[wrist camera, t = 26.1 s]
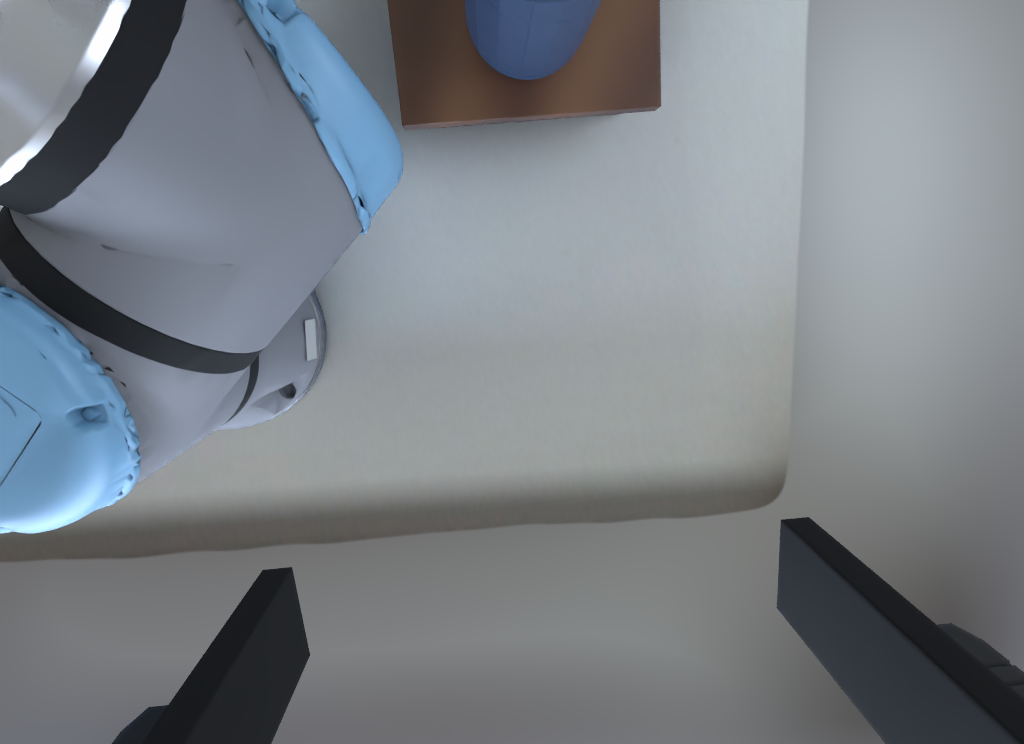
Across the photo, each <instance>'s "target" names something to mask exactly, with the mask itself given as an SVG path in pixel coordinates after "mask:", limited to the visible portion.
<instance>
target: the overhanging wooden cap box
mask: <svg viewBox="0 0 1024 744" xmlns="http://www.w3.org/2000/svg"><path fill="white" fill-rule="evenodd" d="M387 1H388V9H389V17H390V26H391V34H392V42H393V51H394V59H395V67H396V75H397V84H398V92H399V100H400V109H401V117H402V125H403V127H404V128H405V130H412V129H425V128H440V127H453V126H466V125H479V124H492V123H505V122H518V121H531V120H544V119H557V118H570V117H583V116H596V115H609V114H622V113H632V112H645V111H655V110H657V109H658V108H659V107H660V106H661V69H660V0H601V2H600V4H599V7H598V9H597V11H596V13H595V15H594V18H593V20H592V22H591V24H590V26H589V28H588V31H587V33H586V35H585V37H584V39H583V42H582V43H581V45H580V46H579V47H578V49H577V51H576V52H575V54H574V55H573V57H572V58H571V59H570V60H569V61H568V62H567V64H565V65H564V66H563V67H562V68H561V69H559V70H558V71H556V72H555V73H553V74H551V75H549V76H547V77H543V78H540V79H534V80H521V79H515V78H511V77H508V76H506V75H504V74H501V73H500V72H498V71H497V70H495V69H494V68H492V67H491V66H490V65H489V64H488V63H487V62H486V61H485V60H484V59H483V58H482V57H481V55H480V54H479V52H478V51H477V49H476V47H475V46H474V44H473V41H472V39H471V36H470V33H469V30H468V27H467V21H466V10H465V0H387Z"/></svg>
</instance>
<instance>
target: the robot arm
mask: <svg viewBox="0 0 1024 744" xmlns="http://www.w3.org/2000/svg"><path fill="white" fill-rule="evenodd" d="M402 171H403V153H402V150H401V144H400V141H399V139H398V137H397V135H396V133H395V131H394V129H393V127H392V125H391V124H390V122H389V120H388V119H387V117H386V116H385V114H384V113H383V111H382V110H381V108H380V107H379V105H378V104H377V102H376V101H375V99H374V98H373V97H372V95H371V94H370V92H369V91H368V90H367V88H366V87H365V86H364V84H363V83H362V82H361V80H360V79H359V78H358V76H357V75H356V74H355V72H354V71H353V70H352V68H351V67H350V66H349V65H348V63H347V62H346V61H345V59H344V58H343V57H342V56H341V54H340V53H339V52H338V51H337V49H336V48H335V47H334V46H333V44H332V43H331V42H330V41H329V39H328V38H327V37H326V36H325V35H324V33H323V32H322V31H321V30H320V29H319V27H318V26H317V25H316V24H315V23H314V22H313V20H312V19H311V18H310V17H309V16H308V15H307V14H306V13H304V12H303V11H302V10H300V9H299V8H297V6H296V3H295V1H294V0H0V205H2V206H4V207H3V208H2V210H1V211H0V533H8V532H11V531H15V532H21V533H30V534H31V533H38V532H44V531H49V530H53V529H56V528H60V527H63V526H65V525H68V524H70V523H72V522H75V521H77V520H79V519H81V518H82V517H84V516H86V515H87V514H89V513H91V512H93V511H94V510H96V509H98V508H103V507H104V506H109V505H112V504H114V503H116V502H117V501H118V500H119V499H121V498H123V497H124V496H126V495H127V494H128V493H129V492H130V491H131V489H132V488H133V487H134V485H136V484H137V483H139V482H140V481H142V480H143V479H145V478H146V477H148V476H149V475H151V474H152V473H154V472H155V471H157V470H158V469H159V468H161V467H162V466H164V465H165V464H167V463H168V462H170V461H171V460H173V459H174V458H176V457H177V456H179V455H180V454H182V453H183V452H185V451H186V450H187V449H189V448H190V447H192V446H193V445H195V444H196V443H198V442H199V441H201V440H202V439H204V438H205V437H207V436H208V435H210V434H211V433H212V432H214V431H215V430H218V429H232V428H242V427H248V426H252V425H256V424H259V423H262V422H264V421H267V420H270V419H272V418H274V417H276V416H278V415H280V414H281V413H283V412H285V411H286V410H287V409H289V408H290V407H291V406H293V405H294V404H295V403H296V402H297V401H299V400H300V399H301V398H302V397H303V396H304V395H305V394H306V393H307V391H308V390H309V389H310V388H311V386H312V385H313V383H314V382H315V380H316V378H317V376H318V374H319V372H320V369H321V367H322V364H323V360H324V356H325V351H326V327H325V321H324V316H323V313H322V310H321V306H320V304H319V302H318V299H317V297H316V295H315V293H314V291H313V289H314V288H315V287H316V286H317V284H318V283H319V282H320V281H321V279H322V278H323V277H324V276H325V275H326V273H327V272H328V271H329V270H330V268H331V267H332V266H333V265H334V264H335V262H336V261H337V260H338V259H339V257H340V256H341V255H342V254H343V253H344V251H345V250H346V249H347V248H348V247H349V245H350V244H351V243H352V242H353V240H354V239H355V238H356V237H357V236H358V234H359V233H360V234H361V235H363V234H365V233H366V232H367V231H368V229H369V227H370V223H371V219H372V217H373V216H374V215H375V213H376V212H377V211H378V209H379V208H380V207H381V205H382V204H383V202H384V201H385V200H386V198H387V197H388V196H389V194H390V193H391V192H392V190H393V189H394V188H395V186H396V185H397V183H398V182H399V180H400V177H401V175H402ZM777 609H778V610H779V611H780V612H781V613H782V615H783V616H784V617H785V619H786V620H787V621H788V622H789V624H790V625H791V626H792V627H793V629H794V630H795V631H796V632H797V634H798V635H799V636H800V637H801V639H802V640H803V641H804V642H805V644H806V645H807V646H808V647H809V648H810V650H811V651H812V652H813V654H814V655H815V656H816V657H817V658H818V660H819V661H820V662H821V664H822V665H823V666H824V667H825V669H826V670H827V671H828V672H829V673H830V675H831V676H832V677H833V679H834V680H835V681H836V682H837V683H838V685H839V686H840V687H841V689H842V690H843V691H844V692H845V693H846V695H847V696H848V697H849V699H850V700H851V701H852V702H853V704H854V705H855V706H856V707H857V709H858V710H859V711H860V712H861V714H862V715H863V716H864V717H865V719H866V720H867V721H868V722H869V724H870V725H871V726H872V727H873V729H874V730H875V731H876V732H877V734H878V735H879V736H880V737H881V739H882V740H883V741H884V742H885V744H1024V672H1023V671H1021V670H1020V669H1019V668H1017V667H1016V666H1015V665H1014V666H1012V665H1011V664H1010V661H1009V660H1007V659H1006V658H1005V657H1004V656H1002V655H1001V654H1000V653H998V652H997V651H996V650H995V649H994V648H992V647H991V646H990V645H989V644H987V643H986V642H985V641H983V640H982V639H980V638H978V637H976V636H974V635H972V634H971V633H969V632H967V631H965V630H963V629H961V628H959V627H957V626H955V625H953V624H952V623H949V624H939V625H936V624H935V623H934V622H933V621H931V620H930V619H929V618H928V617H927V616H925V615H924V614H923V613H922V612H921V611H919V610H918V609H917V608H916V607H915V606H914V605H912V604H911V603H910V602H909V601H908V600H906V599H905V598H904V597H903V596H902V595H900V594H899V593H898V592H897V591H896V590H895V589H893V588H892V587H891V586H890V585H889V584H887V583H886V582H885V581H884V580H883V579H881V578H880V577H879V576H878V575H877V574H875V573H874V572H873V571H872V570H871V569H870V568H868V567H867V566H866V565H865V564H864V563H862V562H861V561H860V560H859V559H858V558H857V557H855V556H854V555H853V554H852V553H851V552H849V551H848V550H847V549H846V548H845V547H843V546H842V545H841V544H840V543H839V542H838V541H836V540H835V539H834V538H833V537H832V536H831V535H829V534H828V533H827V532H826V531H824V530H823V529H822V528H821V527H820V526H819V525H817V524H816V523H815V522H814V521H813V520H812V519H810V518H809V517H806V518H796V519H785V520H781V530H780V553H779V574H778V595H777ZM309 656H310V653H309V648H308V644H307V638H306V633H305V628H304V624H303V619H302V614H301V609H300V604H299V599H298V594H297V589H296V584H295V580H294V575H293V570H292V567H289V568H279V569H269V570H262V572H261V573H260V575H259V576H258V578H257V579H256V581H255V582H254V583H253V585H252V586H251V588H250V589H249V591H248V592H247V593H246V595H245V596H244V598H243V599H242V601H241V602H240V603H239V605H238V606H237V608H236V609H235V611H234V612H233V614H232V615H231V616H230V618H229V619H228V621H227V622H226V624H225V625H224V626H223V628H222V629H221V631H220V632H219V633H218V635H217V636H216V638H215V639H214V641H213V642H212V643H211V645H210V646H209V648H208V649H207V651H206V652H205V654H204V655H203V657H202V658H201V659H200V661H199V662H198V664H197V665H196V666H195V668H194V670H193V671H192V672H191V674H190V675H189V676H188V678H187V679H186V681H185V682H184V684H183V685H182V686H181V688H180V689H179V691H178V692H177V694H176V695H175V696H174V698H173V699H172V701H171V702H170V704H169V705H166V706H156V707H149V708H147V709H146V710H145V711H144V712H143V713H142V714H140V716H138V717H137V718H136V719H135V720H134V721H133V722H131V723H130V724H129V725H128V726H127V727H126V728H124V729H123V730H122V731H121V732H120V734H119V735H118V736H117V738H116V739H115V740H114V742H113V743H112V744H271V743H272V741H273V738H274V736H275V734H276V731H277V729H278V727H279V724H280V722H281V720H282V718H283V715H284V713H285V711H286V708H287V706H288V704H289V702H290V699H291V697H292V695H293V693H294V690H295V688H296V686H297V683H298V681H299V679H300V676H301V674H302V672H303V670H304V667H305V665H306V663H307V661H308V658H309Z"/></svg>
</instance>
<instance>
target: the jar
mask: <svg viewBox="0 0 1024 744" xmlns="http://www.w3.org/2000/svg"><path fill="white" fill-rule="evenodd" d="M600 2H601V0H465V10H466V21H467V27H468V30H469V33H470V36H471V39H472V41H473V44H474V46H475V47H476V49H477V51H478V52H479V54H480V55H481V57H482V58H483V59H484V60H485V61H486V62H487V63H488V64H489V65H490V66H491V67H492V68H494V69H495V70H497V71H498V72H500V73H501V74H504V75H506V76H508V77H511V78H515V79H521V80H534V79H540V78H543V77H547V76H549V75H551V74H553V73H555V72H556V71H558V70H559V69H561V68H562V67H563V66H564V65H565V64H567V62H568V61H569V60H570V59H571V58H572V57H573V55H574V54H575V52H576V51H577V49H578V47H579V46H580V45H581V43H582V42H583V39H584V37H585V35H586V33H587V31H588V28H589V26H590V24H591V22H592V20H593V18H594V15H595V13H596V11H597V9H598V7H599V4H600Z"/></svg>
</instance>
